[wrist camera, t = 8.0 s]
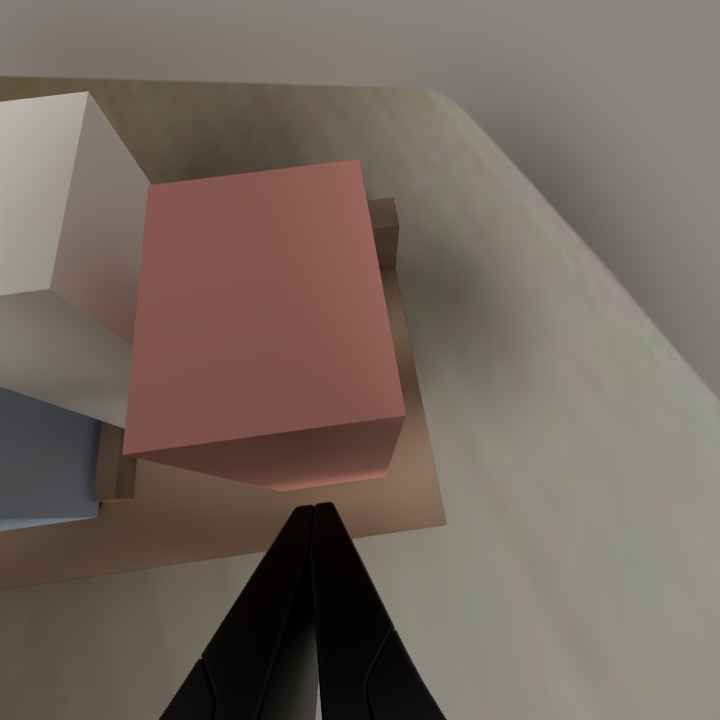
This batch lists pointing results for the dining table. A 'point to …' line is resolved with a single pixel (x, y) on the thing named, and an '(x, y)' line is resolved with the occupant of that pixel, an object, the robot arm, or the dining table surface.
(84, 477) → the light blue tall block
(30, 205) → the white tall block
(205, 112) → the dining table surface
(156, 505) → the wooden block stand
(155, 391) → the red rectangular block
